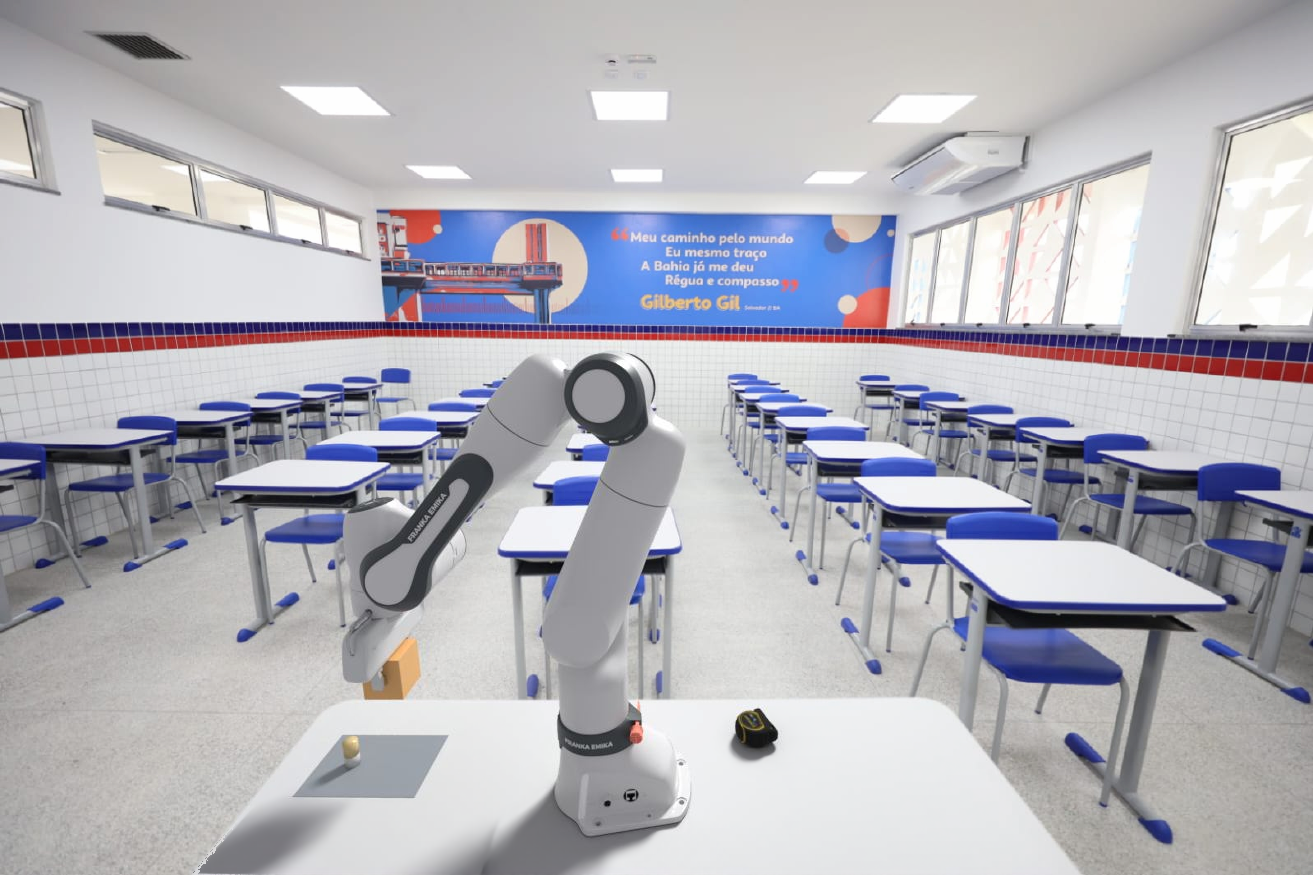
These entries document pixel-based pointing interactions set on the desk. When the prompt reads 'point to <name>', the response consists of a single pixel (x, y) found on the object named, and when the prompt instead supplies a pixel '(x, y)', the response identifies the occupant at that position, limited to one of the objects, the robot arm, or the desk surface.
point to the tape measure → (755, 728)
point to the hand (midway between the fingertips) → (392, 673)
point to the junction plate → (374, 766)
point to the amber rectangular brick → (397, 673)
